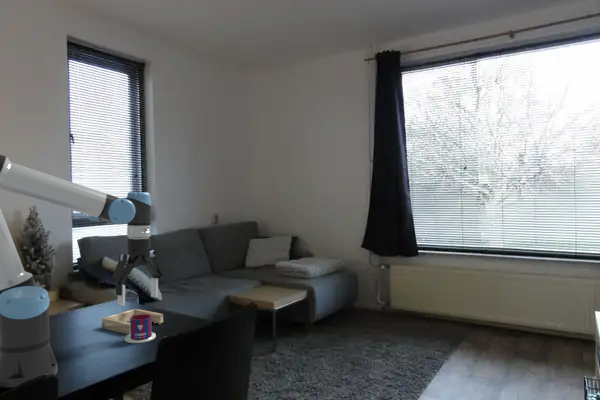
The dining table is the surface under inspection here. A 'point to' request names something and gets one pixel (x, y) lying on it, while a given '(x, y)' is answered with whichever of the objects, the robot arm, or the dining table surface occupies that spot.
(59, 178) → the robot arm
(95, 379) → the dining table surface
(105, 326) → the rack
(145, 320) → the mug
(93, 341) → the dining table surface
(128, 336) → the white round flat disc
